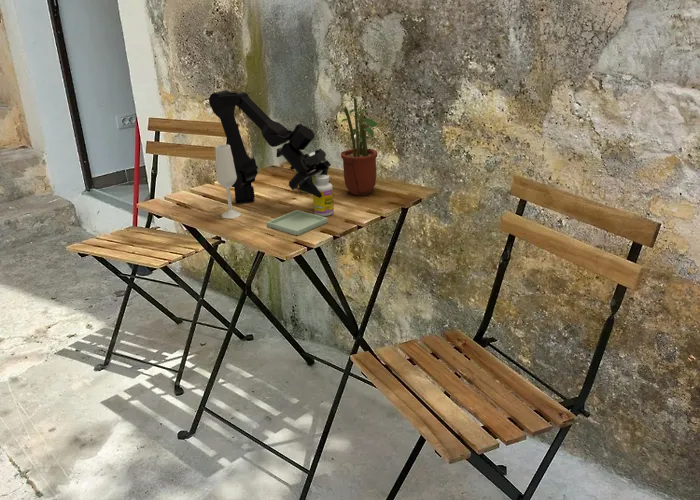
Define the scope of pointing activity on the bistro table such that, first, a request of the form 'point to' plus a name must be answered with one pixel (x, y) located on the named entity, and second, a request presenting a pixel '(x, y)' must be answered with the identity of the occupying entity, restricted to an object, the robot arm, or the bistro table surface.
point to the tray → (297, 222)
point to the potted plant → (359, 156)
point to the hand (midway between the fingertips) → (326, 193)
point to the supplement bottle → (323, 196)
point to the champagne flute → (226, 175)
